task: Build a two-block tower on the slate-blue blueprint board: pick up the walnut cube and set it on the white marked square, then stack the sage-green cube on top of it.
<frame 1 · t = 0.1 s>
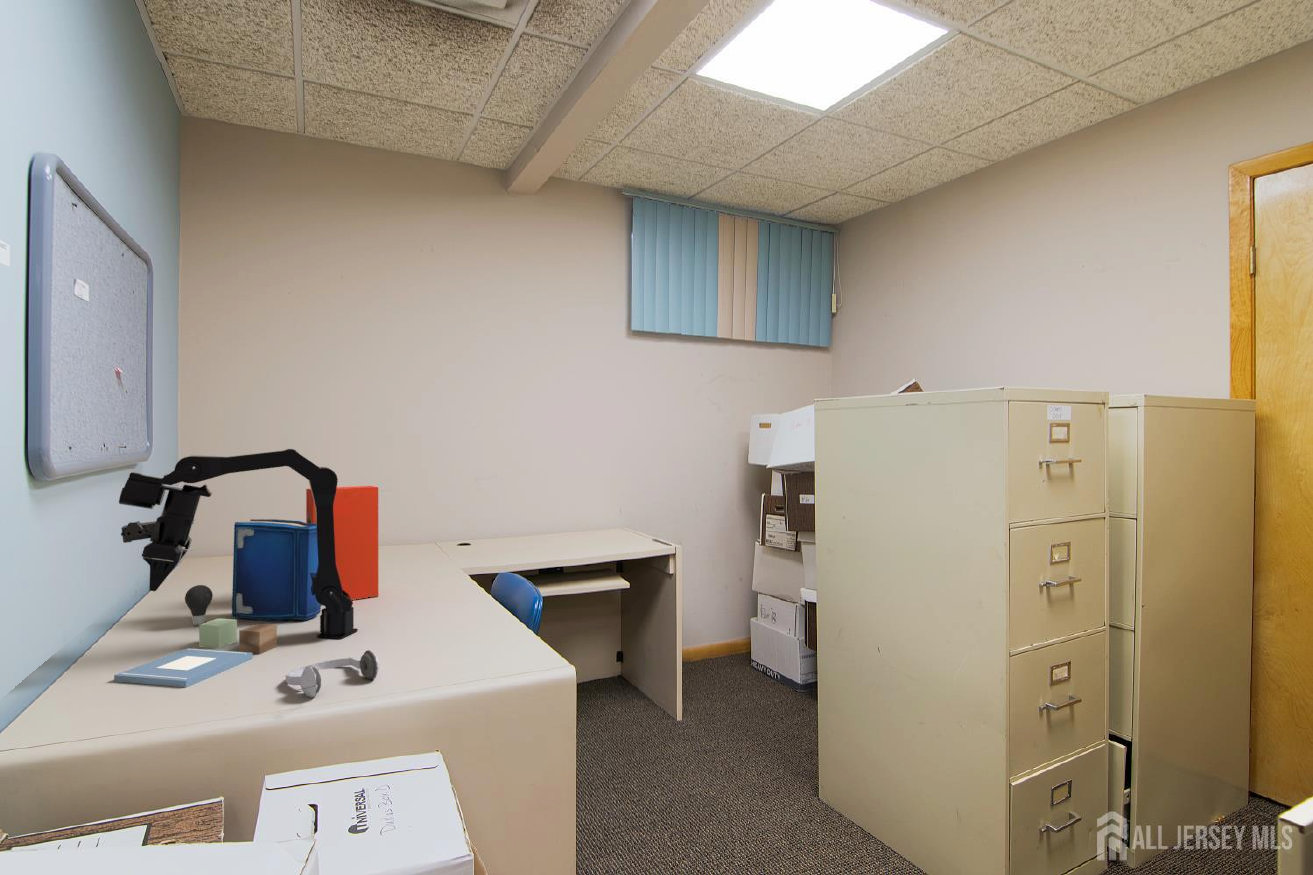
hand: (156, 586, 137), 15 cm above the table, tool pointing down, fingers open, 9 cm apart
book: (279, 618, 169), on the table
walnut block: (258, 650, 144), on the table
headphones: (326, 687, 124), on the table
green block: (218, 644, 148), on the table
blueprint board: (186, 669, 132), on the table
file binder: (342, 599, 188), on the table
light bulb: (198, 626, 161), on the table
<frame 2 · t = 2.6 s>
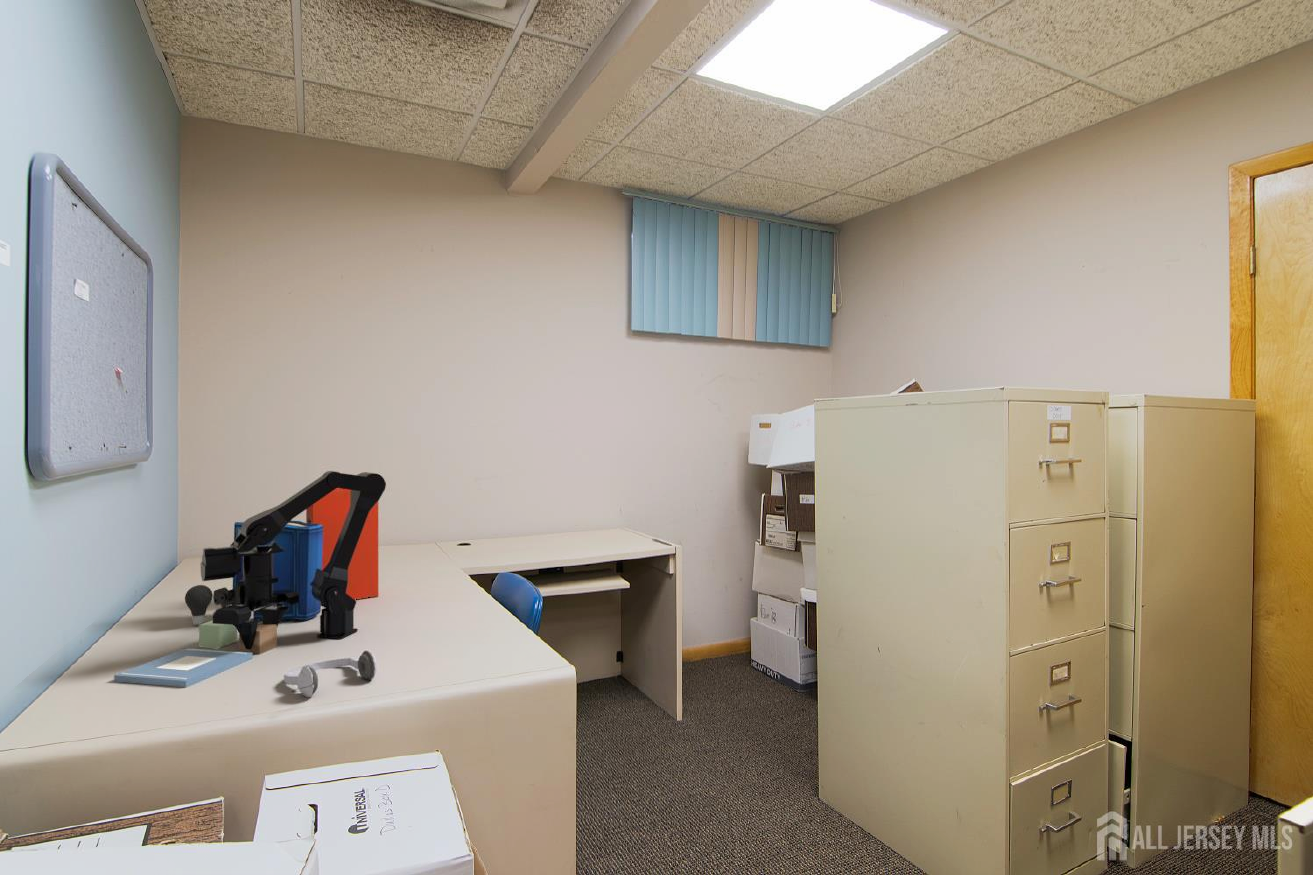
hand: (258, 645, 144), 1 cm above the table, tool pointing down, fingers closed on walnut block, 5 cm apart
walnut block: (258, 649, 144), on the table, touching gripper
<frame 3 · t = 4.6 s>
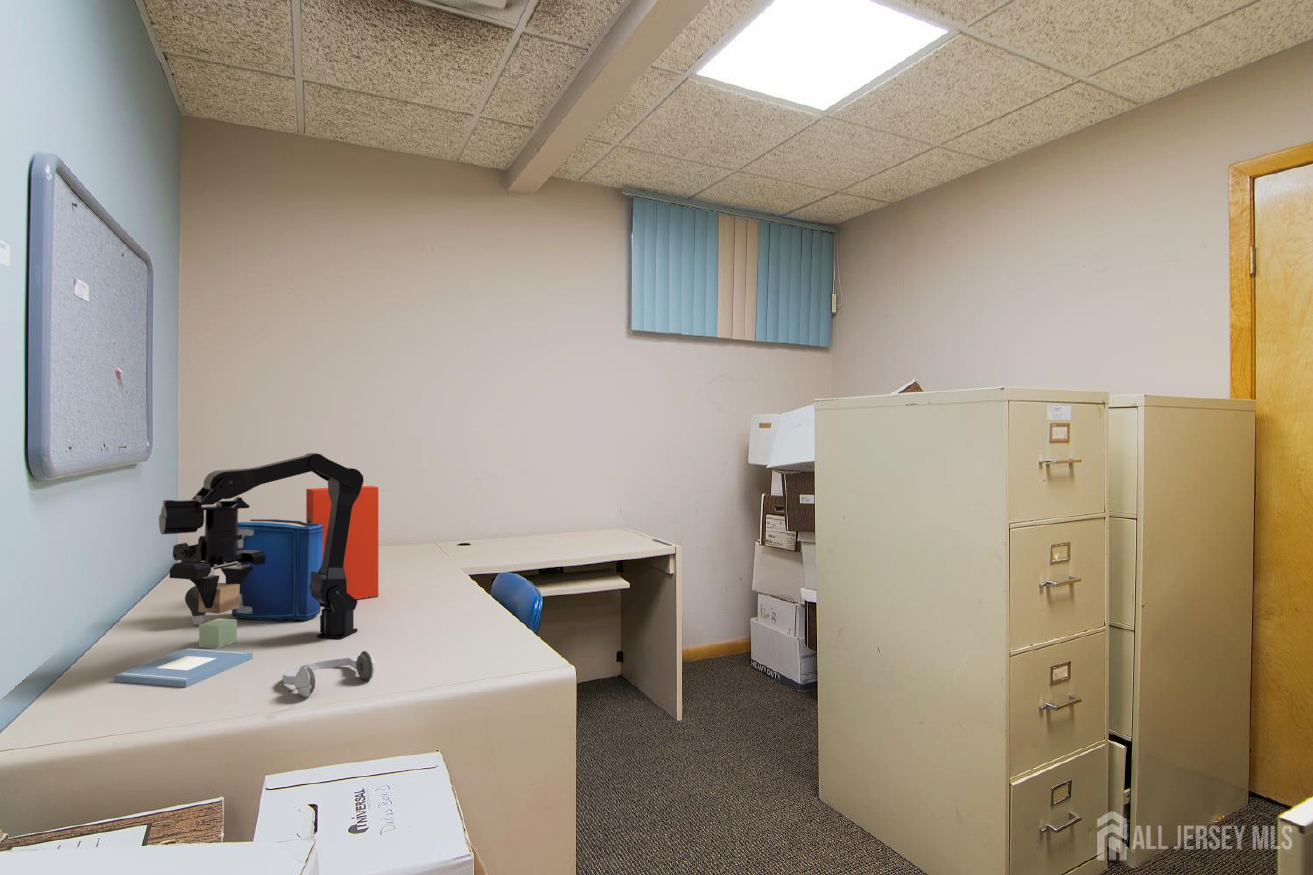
hand: (219, 604, 137), 12 cm above the table, tool pointing down, fingers closed on walnut block, 5 cm apart
walnut block: (219, 609, 137), point 11 cm above the table, touching gripper
when the fingers open (3 cm above the table, at t = 6.8 s): walnut block drops 1 cm, resting on blueprint board.
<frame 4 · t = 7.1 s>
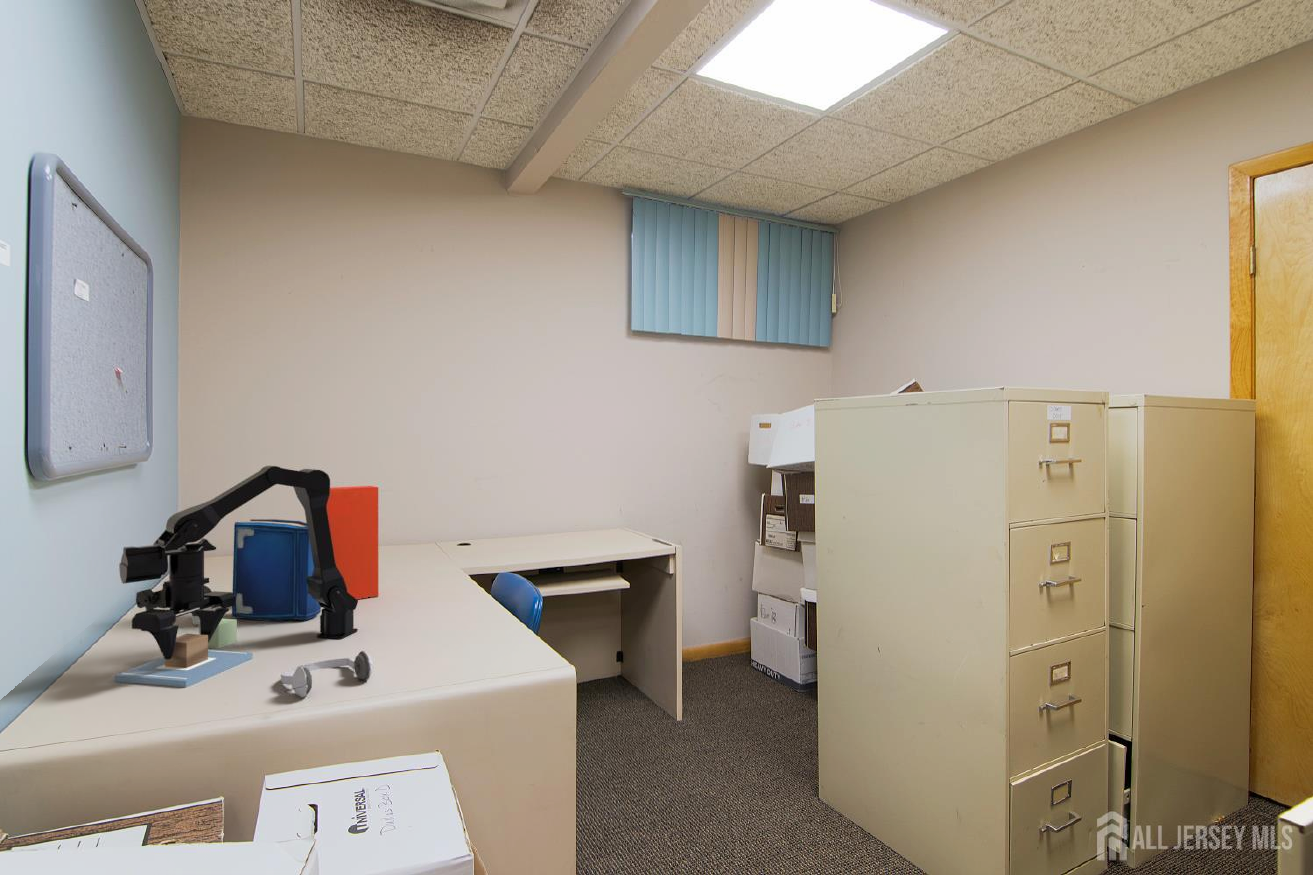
hand: (186, 651, 132), 3 cm above the table, tool pointing down, fingers open, 8 cm apart
walnut block: (186, 662, 132), point 1 cm above the table, touching blueprint board
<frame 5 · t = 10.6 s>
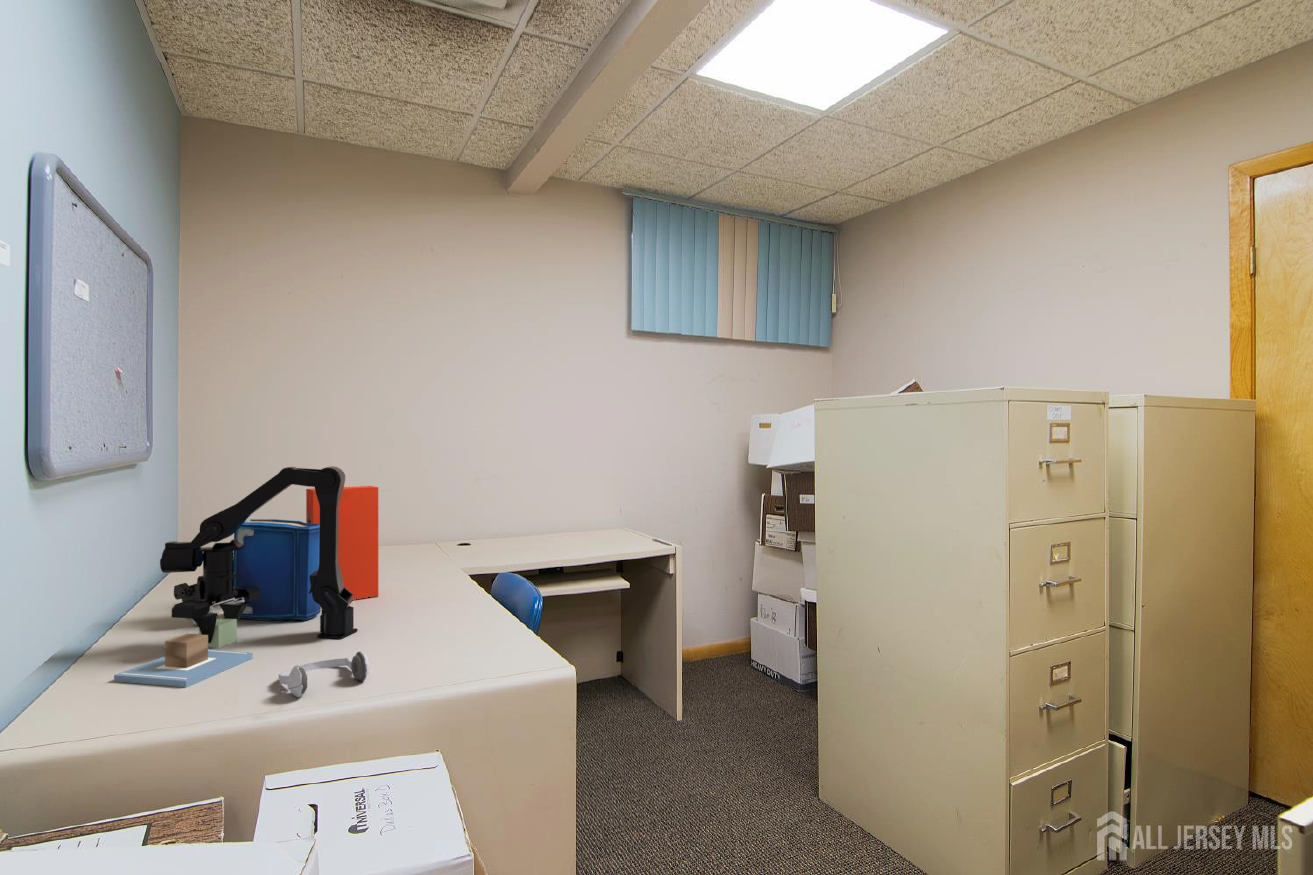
hand: (218, 639, 148), 1 cm above the table, tool pointing down, fingers closed on green block, 5 cm apart
green block: (218, 643, 148), on the table, touching gripper
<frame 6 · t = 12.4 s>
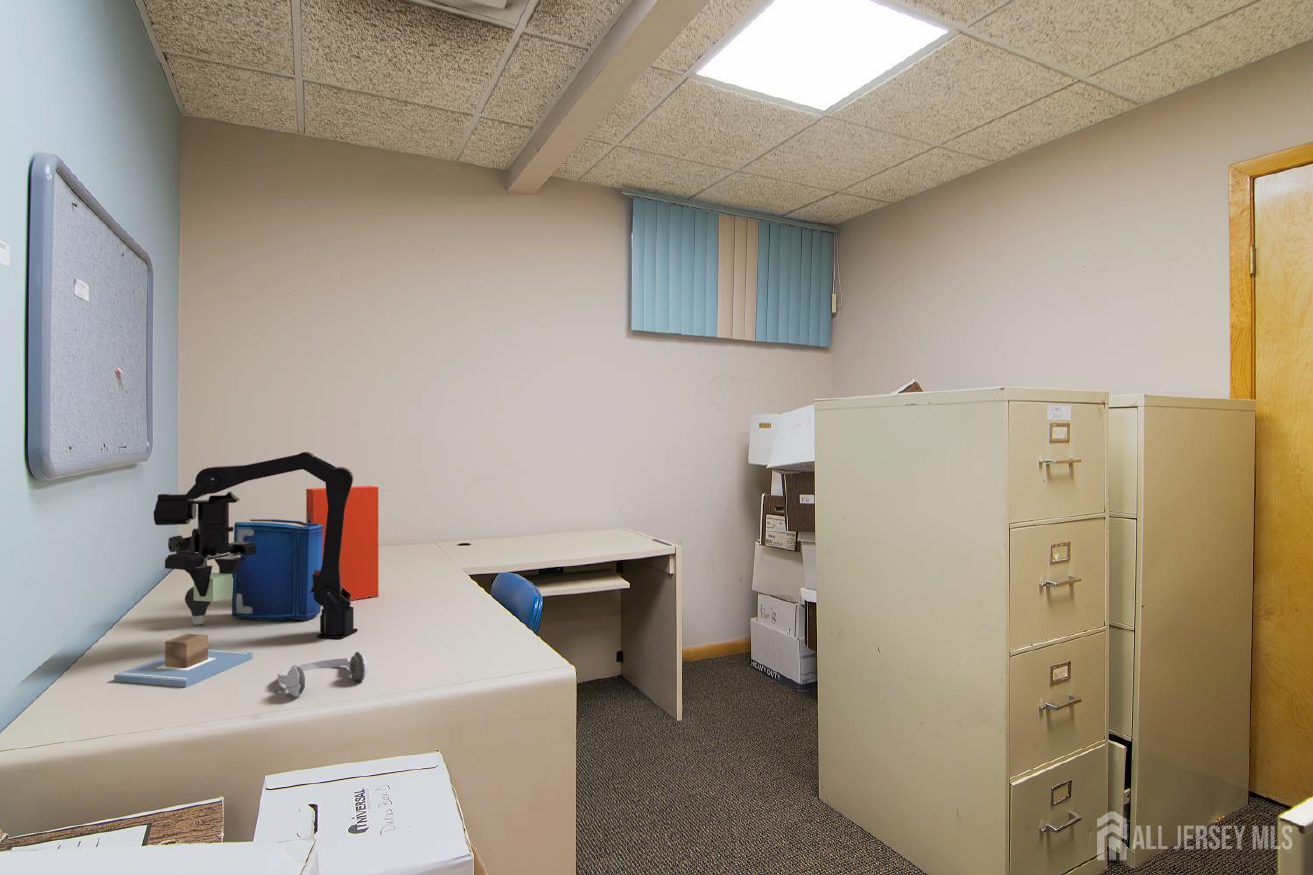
hand: (213, 593, 145), 12 cm above the table, tool pointing down, fingers closed on green block, 5 cm apart
green block: (213, 598, 145), point 11 cm above the table, touching gripper
when the fingers open (8 cm above the table, at t = 14.4 s): green block drops 1 cm, resting on walnut block.
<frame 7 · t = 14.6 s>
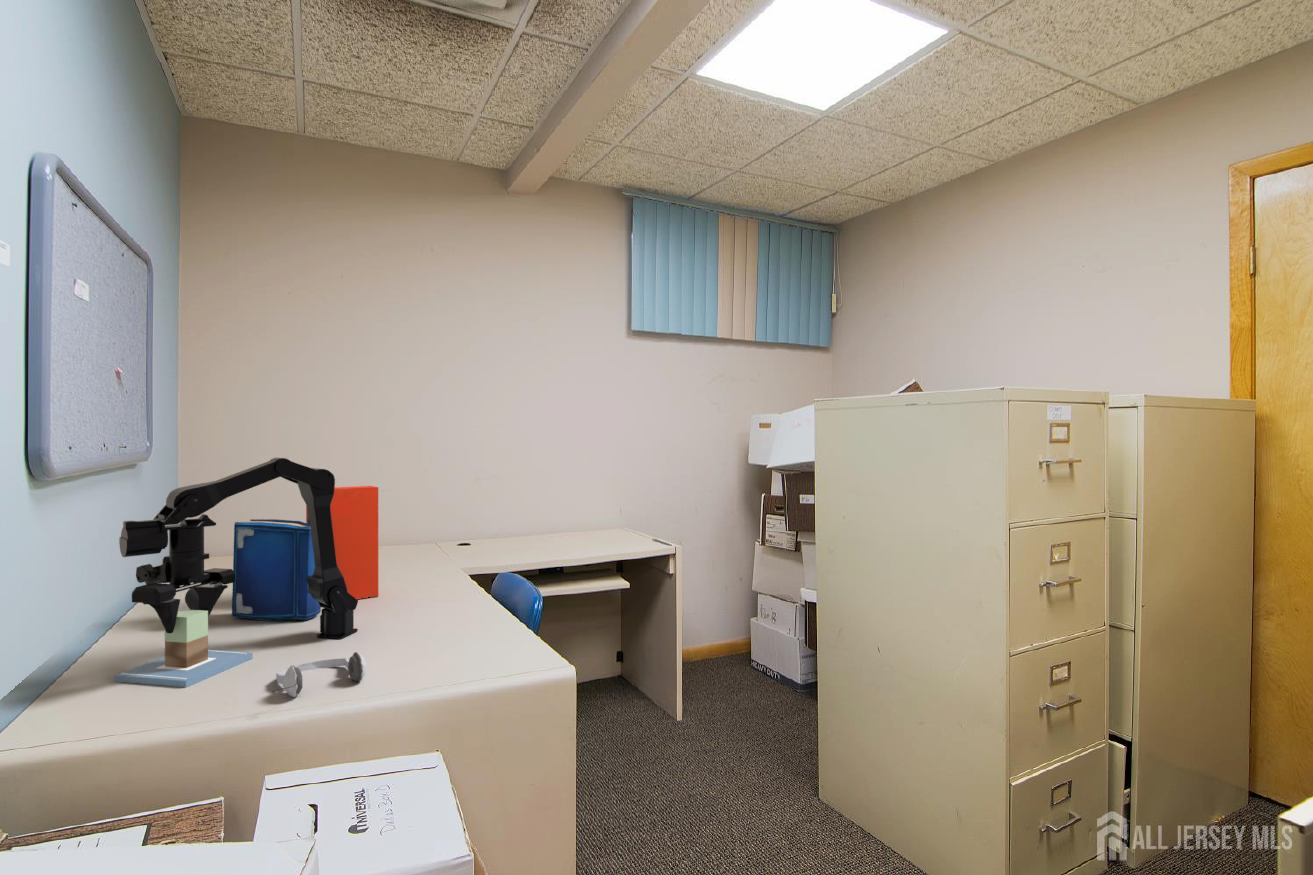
hand: (186, 627, 132), 8 cm above the table, tool pointing down, fingers open, 7 cm apart
walnut block: (186, 662, 132), point 1 cm above the table, touching blueprint board, green block
green block: (186, 638, 132), point 6 cm above the table, touching walnut block
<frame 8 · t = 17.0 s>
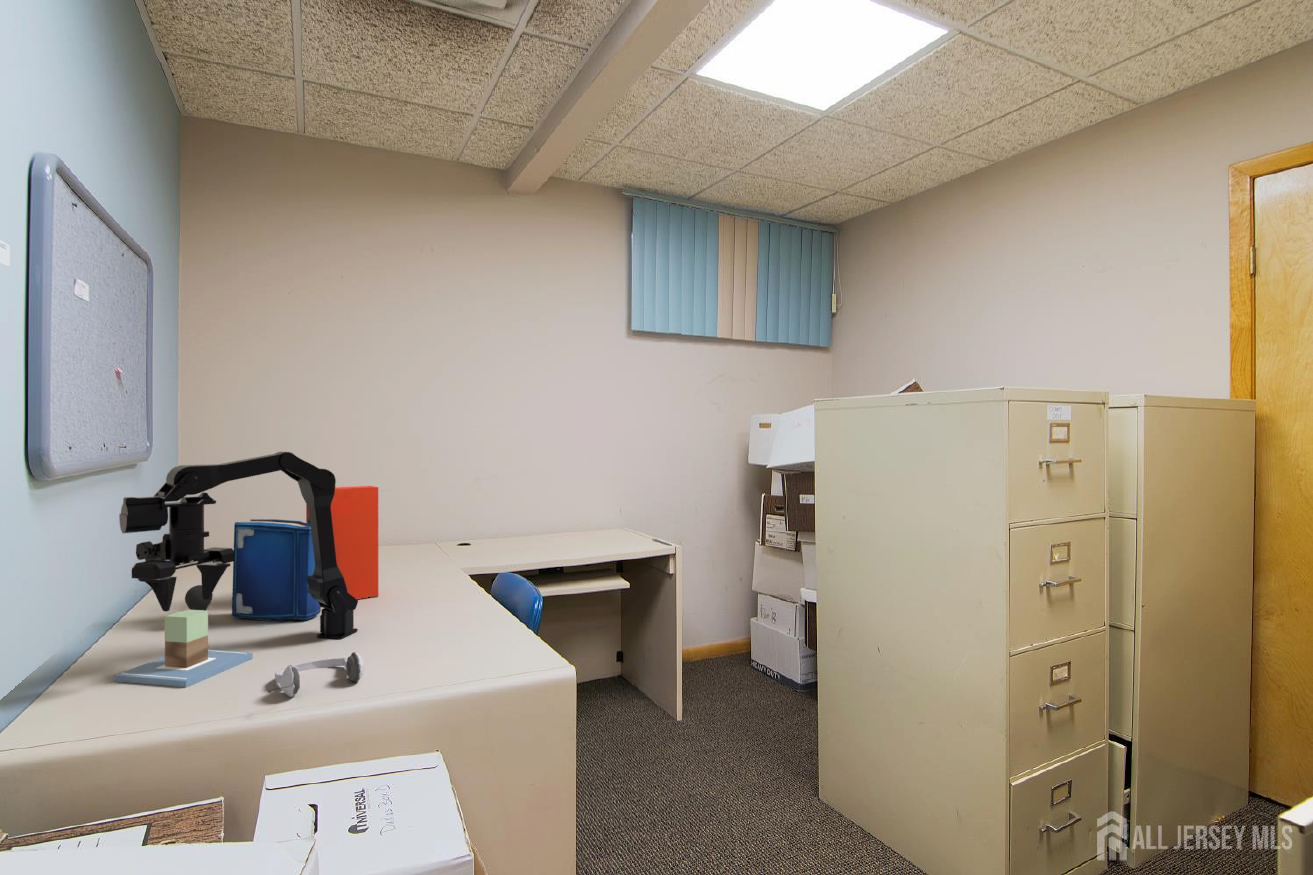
hand: (186, 605, 132), 13 cm above the table, tool pointing down, fingers open, 9 cm apart
at the end: walnut block 0.0 cm off-centre on the blueprint board, point 1.3 cm above the blueprint board's base; green block 0.0 cm off-centre on the walnut block, point 5.0 cm above the walnut block's base; green block tilted 0° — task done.
